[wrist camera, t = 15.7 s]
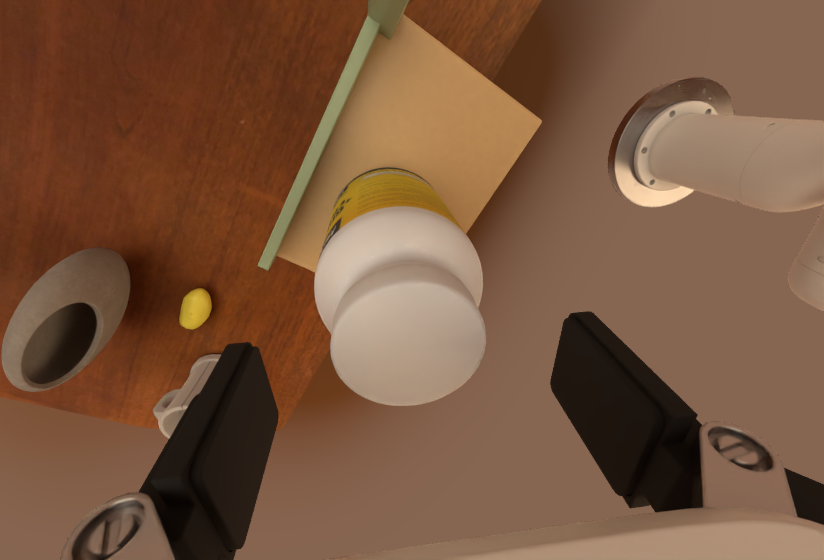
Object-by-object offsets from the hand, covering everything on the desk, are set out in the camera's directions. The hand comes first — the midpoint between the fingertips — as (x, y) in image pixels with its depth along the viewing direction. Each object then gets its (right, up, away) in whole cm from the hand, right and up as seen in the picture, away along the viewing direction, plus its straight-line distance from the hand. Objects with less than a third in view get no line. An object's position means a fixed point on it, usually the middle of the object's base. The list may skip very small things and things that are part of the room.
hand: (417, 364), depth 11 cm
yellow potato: (-35, -1, +45) cm, 57 cm away
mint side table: (-5, +23, +36) cm, 43 cm away
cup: (-36, -14, +52) cm, 65 cm away
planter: (-45, +2, +42) cm, 61 cm away
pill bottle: (-2, +6, +10) cm, 12 cm away
